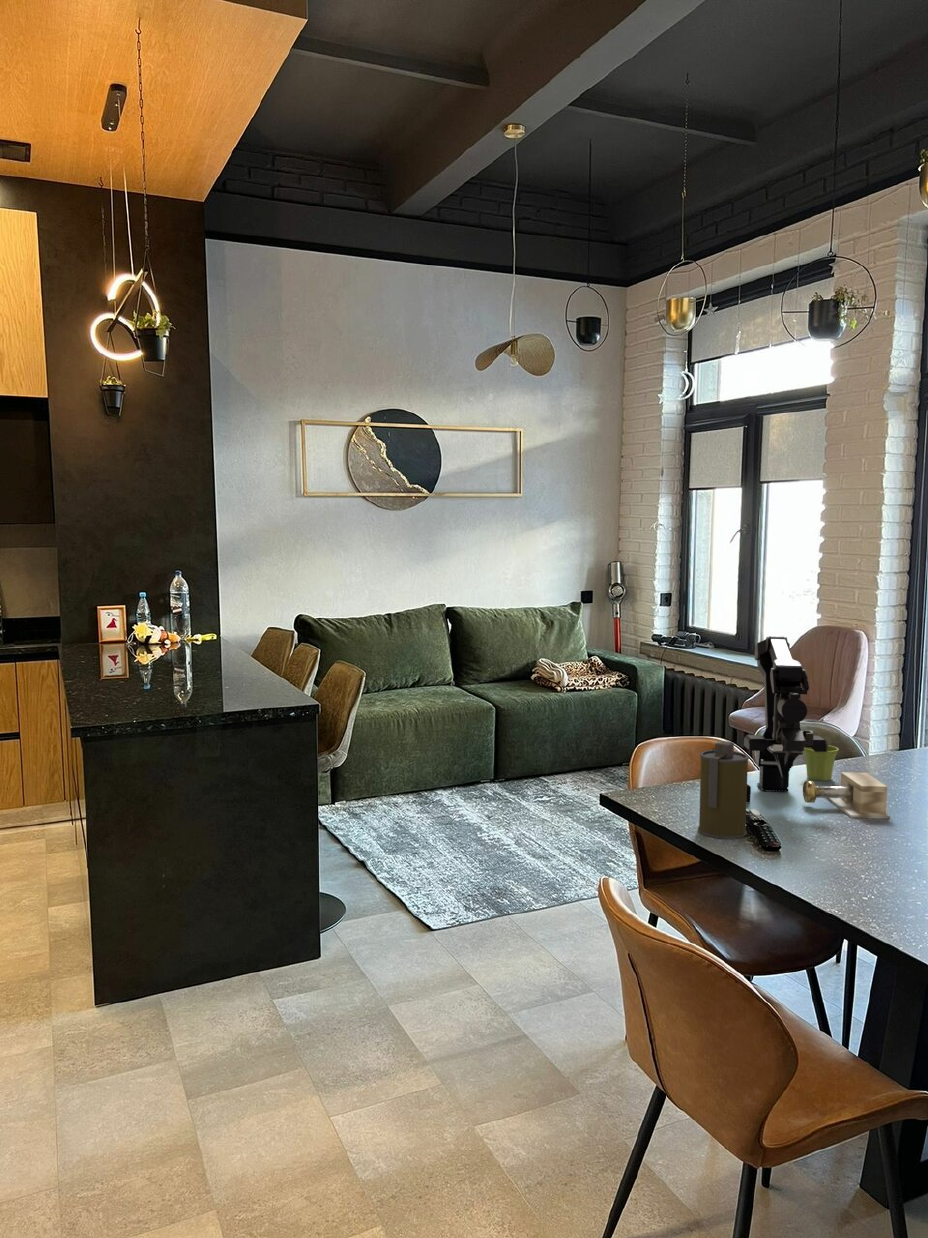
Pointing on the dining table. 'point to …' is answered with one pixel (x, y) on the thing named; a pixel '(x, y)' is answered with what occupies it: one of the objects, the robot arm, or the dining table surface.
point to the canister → (723, 792)
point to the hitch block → (863, 796)
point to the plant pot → (820, 763)
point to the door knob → (825, 792)
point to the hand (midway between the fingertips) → (784, 778)
